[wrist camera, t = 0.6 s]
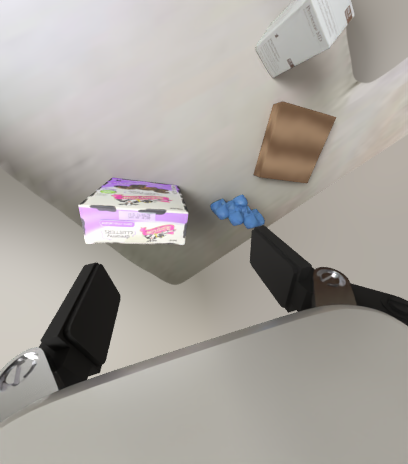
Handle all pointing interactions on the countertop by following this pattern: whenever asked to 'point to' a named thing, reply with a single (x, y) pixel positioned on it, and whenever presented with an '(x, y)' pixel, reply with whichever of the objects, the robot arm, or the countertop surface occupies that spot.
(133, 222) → the candy box
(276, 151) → the walnut board
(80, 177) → the countertop surface
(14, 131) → the countertop surface
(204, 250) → the countertop surface
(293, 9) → the skincare box
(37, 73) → the countertop surface
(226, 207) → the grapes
